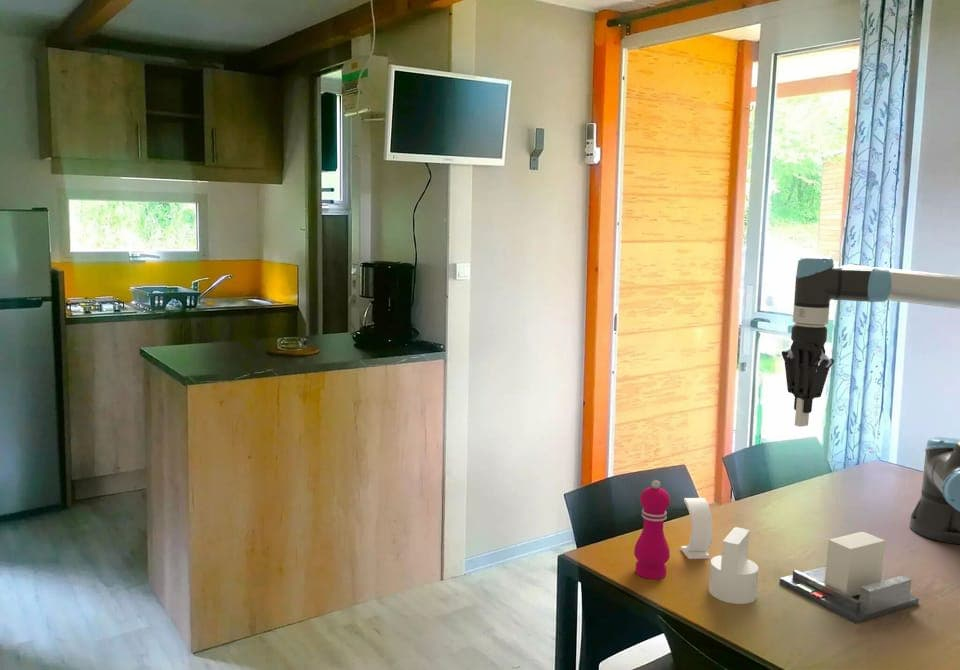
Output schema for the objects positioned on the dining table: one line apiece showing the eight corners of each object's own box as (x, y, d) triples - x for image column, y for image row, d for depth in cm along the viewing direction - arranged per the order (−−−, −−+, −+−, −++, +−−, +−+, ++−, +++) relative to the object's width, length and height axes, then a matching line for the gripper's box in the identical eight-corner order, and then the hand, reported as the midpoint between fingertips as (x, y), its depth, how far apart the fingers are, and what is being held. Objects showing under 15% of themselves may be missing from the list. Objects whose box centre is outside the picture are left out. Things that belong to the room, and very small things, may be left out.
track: (839, 567, 173) (841, 542, 172) (918, 604, 157) (921, 576, 156) (779, 583, 165) (781, 557, 164) (856, 623, 149) (859, 594, 148)
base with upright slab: (749, 608, 154) (754, 548, 152) (702, 595, 158) (706, 537, 157) (760, 590, 161) (765, 533, 160) (715, 578, 166) (720, 523, 164)
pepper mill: (668, 582, 164) (674, 487, 161) (632, 578, 165) (638, 484, 162) (667, 567, 171) (673, 476, 168) (633, 563, 172) (638, 473, 169)
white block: (854, 576, 165) (859, 530, 163) (879, 588, 160) (885, 540, 158) (820, 585, 160) (825, 538, 159) (845, 598, 155) (850, 549, 154)
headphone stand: (700, 549, 181) (704, 497, 179) (710, 560, 175) (714, 507, 173) (680, 549, 180) (684, 498, 178) (690, 561, 174) (694, 507, 173)
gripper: (775, 321, 188) (767, 420, 191) (822, 329, 177) (813, 434, 180) (798, 320, 191) (790, 417, 195) (845, 327, 180) (836, 430, 183)
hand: (801, 425), depth 187 cm, fingers closed
